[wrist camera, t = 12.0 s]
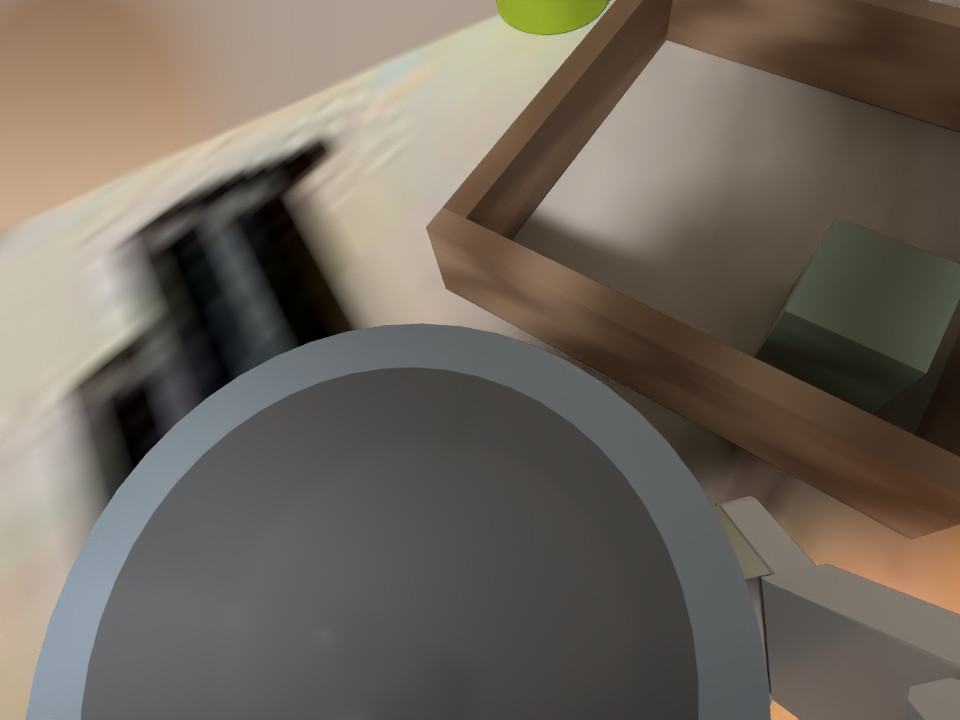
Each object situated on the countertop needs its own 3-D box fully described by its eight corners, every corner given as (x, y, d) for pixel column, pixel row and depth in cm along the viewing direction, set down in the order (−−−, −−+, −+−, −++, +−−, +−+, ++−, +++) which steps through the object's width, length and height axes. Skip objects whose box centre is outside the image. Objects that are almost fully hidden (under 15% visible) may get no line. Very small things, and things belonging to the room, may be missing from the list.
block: (748, 366, 22) (784, 310, 18) (794, 284, 23) (836, 216, 19) (863, 421, 20) (926, 373, 17) (905, 332, 22) (973, 269, 18)
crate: (446, 288, 25) (425, 227, 21) (657, 21, 30) (669, -65, 26) (911, 539, 19) (994, 513, 15) (1073, 148, 24) (1164, 59, 20)
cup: (304, 689, 13) (-118, 747, 5) (463, 461, 15) (338, 236, 7) (539, 904, 11) (459, 1587, 3) (691, 611, 13) (902, 541, 5)
